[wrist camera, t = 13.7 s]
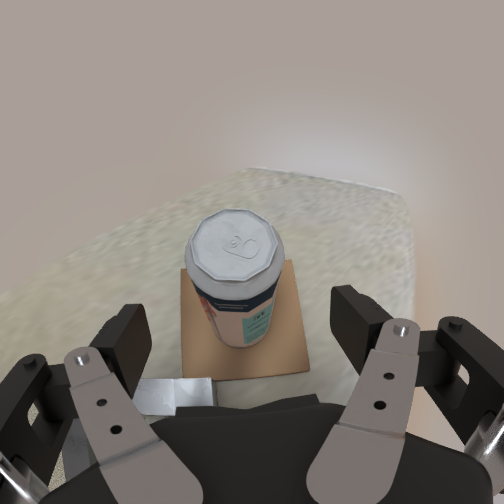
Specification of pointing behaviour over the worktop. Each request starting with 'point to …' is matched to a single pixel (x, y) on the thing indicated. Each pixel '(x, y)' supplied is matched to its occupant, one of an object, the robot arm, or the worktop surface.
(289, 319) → the walnut coaster
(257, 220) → the beer can
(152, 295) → the worktop surface
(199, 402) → the metal collar
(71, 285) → the worktop surface
